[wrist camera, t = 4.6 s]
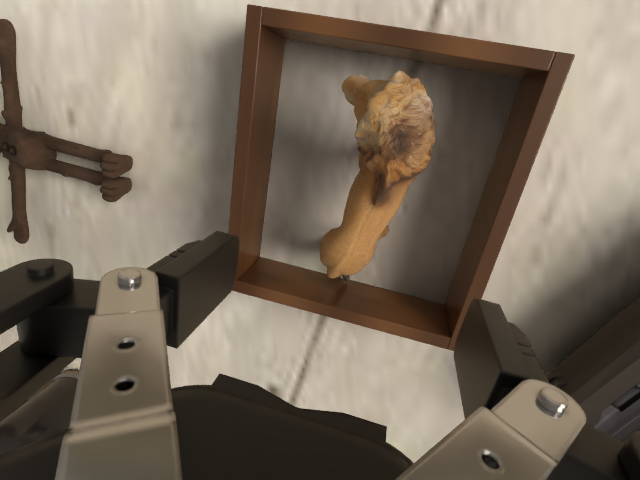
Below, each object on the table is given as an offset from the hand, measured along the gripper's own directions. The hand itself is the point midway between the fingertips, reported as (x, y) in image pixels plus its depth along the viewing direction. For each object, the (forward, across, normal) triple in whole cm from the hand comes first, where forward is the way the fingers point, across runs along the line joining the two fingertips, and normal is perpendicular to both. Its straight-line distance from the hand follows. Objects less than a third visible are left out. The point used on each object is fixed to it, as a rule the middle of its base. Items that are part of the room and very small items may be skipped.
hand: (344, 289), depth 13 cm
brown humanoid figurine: (+15, +27, +3) cm, 31 cm away
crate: (+15, +1, -1) cm, 15 cm away
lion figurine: (+15, +1, -1) cm, 15 cm away
